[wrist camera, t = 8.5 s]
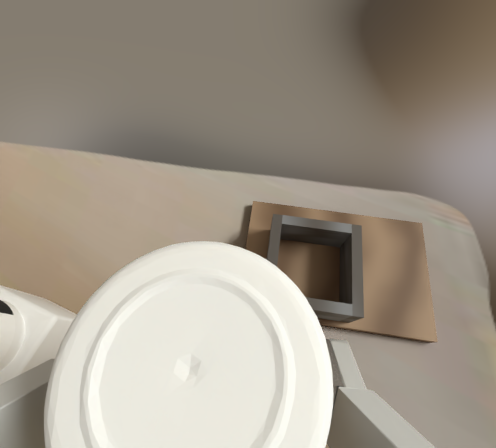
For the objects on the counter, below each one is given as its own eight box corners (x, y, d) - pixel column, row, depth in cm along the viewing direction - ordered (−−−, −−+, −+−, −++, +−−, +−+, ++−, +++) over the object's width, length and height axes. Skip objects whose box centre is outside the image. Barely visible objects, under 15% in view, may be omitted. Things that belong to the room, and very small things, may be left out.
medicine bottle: (-6, 366, 27) (-172, 371, 16) (44, 297, 30) (-70, 263, 19) (53, 399, 26) (-85, 429, 15) (99, 325, 29) (11, 305, 18)
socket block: (235, 311, 29) (233, 303, 25) (253, 205, 35) (253, 182, 30) (431, 342, 28) (466, 339, 24) (417, 226, 34) (443, 206, 29)
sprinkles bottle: (288, 389, 16) (411, 454, 4) (213, 434, 15) (57, 718, 3) (250, 313, 18) (251, 196, 6) (182, 349, 17) (10, 302, 5)
